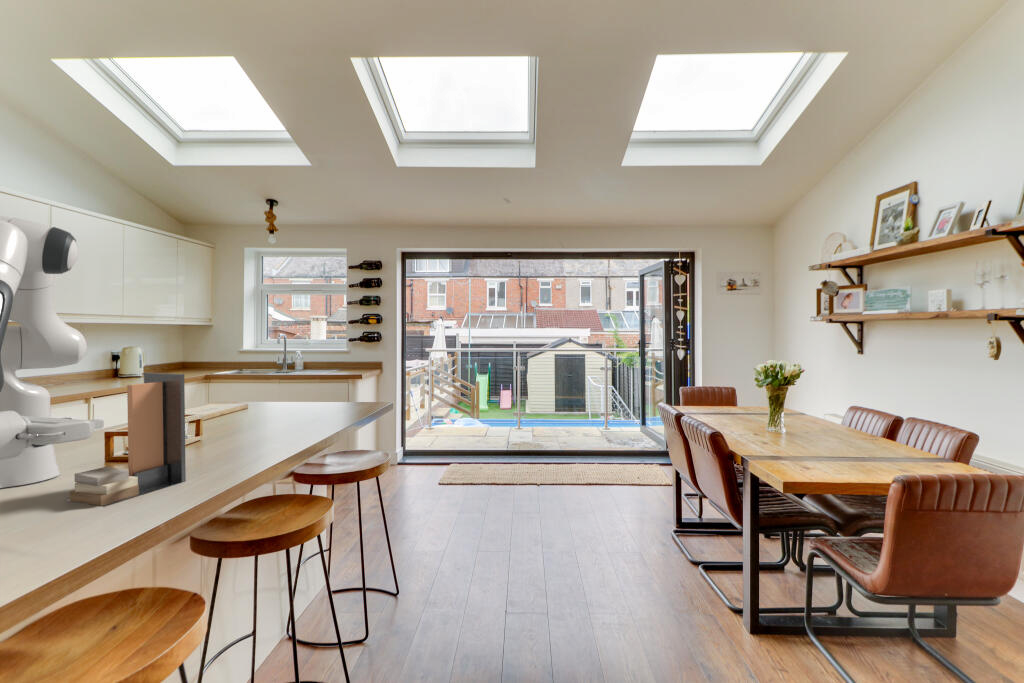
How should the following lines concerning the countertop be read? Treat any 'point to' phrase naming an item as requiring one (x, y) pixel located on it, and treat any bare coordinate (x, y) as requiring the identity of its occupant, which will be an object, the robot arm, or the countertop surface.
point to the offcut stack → (104, 486)
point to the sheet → (145, 426)
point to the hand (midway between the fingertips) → (85, 422)
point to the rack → (166, 438)
